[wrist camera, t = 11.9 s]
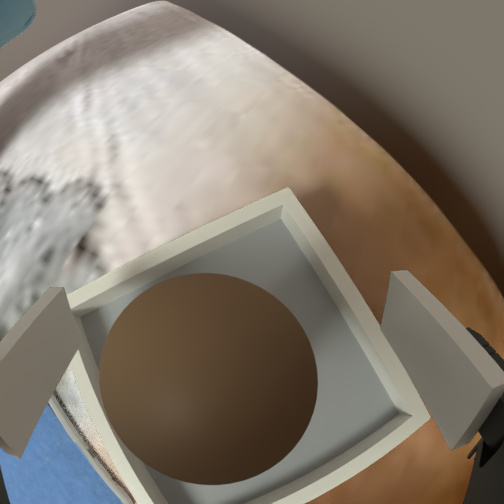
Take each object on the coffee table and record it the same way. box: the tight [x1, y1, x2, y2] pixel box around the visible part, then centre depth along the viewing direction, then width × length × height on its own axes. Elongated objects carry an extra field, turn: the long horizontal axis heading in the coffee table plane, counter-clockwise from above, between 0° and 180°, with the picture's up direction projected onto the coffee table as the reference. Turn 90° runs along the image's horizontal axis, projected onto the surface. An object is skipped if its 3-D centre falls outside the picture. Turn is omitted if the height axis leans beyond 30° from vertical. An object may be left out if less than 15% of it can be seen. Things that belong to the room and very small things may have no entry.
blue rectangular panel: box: [0, 394, 133, 504], centre depth 12 cm, size 19×13×1 cm, turn 132°
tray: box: [67, 187, 431, 504], centre depth 14 cm, size 14×14×4 cm
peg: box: [99, 273, 318, 485], centre depth 10 cm, size 4×4×12 cm
